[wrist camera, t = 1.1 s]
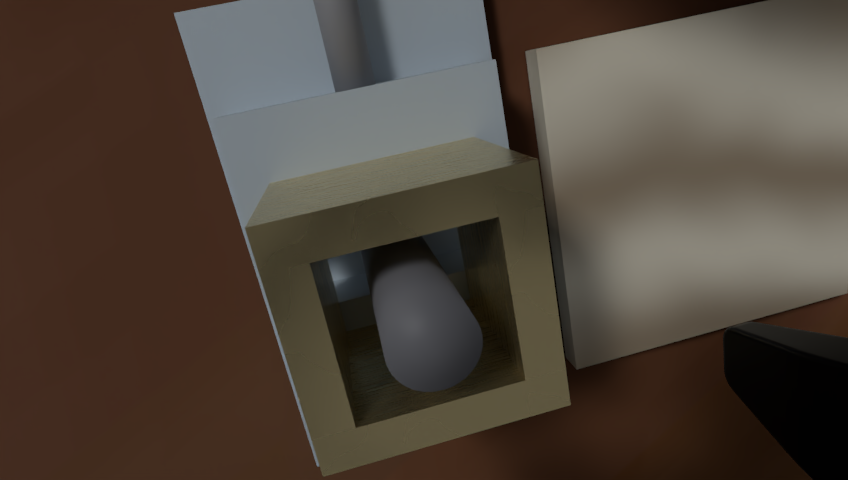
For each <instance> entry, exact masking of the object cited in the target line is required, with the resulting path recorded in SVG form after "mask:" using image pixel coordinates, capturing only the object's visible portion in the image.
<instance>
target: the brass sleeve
mask: <svg viewBox="0 0 848 480" xmlns="http://www.w3.org/2000/svg"><path fill="white" fill-rule="evenodd" d="M455 227H457V232H458V237H459V243H460V248H461V253H462V259H463V264H464V269H465V275H466V280H467V285H468V291H469V296H470V299H469V300H465V301H464V302H465V303H466V305H467V306H468V308H469V309H470V311H471V312H472V314H473V315H474V317H475V318H476V320H477V322H478V323H479V326H480V328H481V332H482V337H483V347H482V352H481V356H480V358H479V361H478V363H477V365H476V366H475V368H474V369H473V370H472V372H471V373H470V374H469V375H468V376H467V377H466V378H465V379H464V380H462V381H461V382H460V383H458V384H456V385H455V386H452V387H450V388H448V389H445V390H441V391H436V392H422V391H416V390H413V389H410V388H408V387H406V386H404V385H402V384H401V383H400V382H398V381H397V380H396V379H395V378H394V377H393V376H392V374H391V373H390V371H389V369H388V367H387V365H386V362H385V358H384V354H383V349H382V345H381V340H380V336H379V331H378V327H377V324H373V325H369V326H365V327H362V328H358V329H354V330H350V331H347V330H346V326H345V323H344V319H343V315H342V311H341V308H340V304H339V300H338V297H337V293H336V289H335V286H334V282H333V278H332V274H331V271H330V267H329V263H328V260H327V259H328V258H332V257H337V256H341V255H345V254H349V253H353V252H357V251H361V250H365V249H369V248H373V247H377V246H381V245H386V244H390V243H394V242H398V241H402V240H406V239H410V238H414V237H418V236H422V235H426V234H430V233H434V232H439V231H443V230H447V229H451V228H455ZM245 230H246V234H247V237H248V240H249V243H250V246H251V249H252V253H253V256H254V259H255V262H256V265H257V269H258V272H259V275H260V278H261V281H262V284H263V288H264V291H265V294H266V297H267V300H268V304H269V307H270V310H271V313H272V316H273V319H274V323H275V326H276V329H277V332H278V335H279V338H280V342H281V345H282V348H283V351H284V354H285V358H286V361H287V364H288V367H289V370H290V373H291V377H292V380H293V383H294V386H295V389H296V393H297V396H298V399H299V402H300V405H301V408H302V412H303V415H304V418H305V421H306V424H307V427H308V431H309V434H310V437H311V440H312V443H313V447H314V450H315V453H316V456H317V459H318V462H319V466H320V469H321V472H322V475H323V477H324V476H328V475H331V474H335V473H338V472H342V471H345V470H348V469H352V468H355V467H359V466H362V465H366V464H369V463H373V462H376V461H379V460H383V459H386V458H390V457H393V456H397V455H400V454H404V453H407V452H410V451H414V450H417V449H421V448H424V447H428V446H431V445H435V444H438V443H441V442H445V441H448V440H452V439H455V438H459V437H462V436H466V435H469V434H473V433H476V432H479V431H483V430H486V429H490V428H493V427H497V426H500V425H504V424H507V423H510V422H514V421H517V420H521V419H524V418H528V417H531V416H535V415H538V414H541V413H545V412H548V411H552V410H555V409H559V408H562V407H566V406H569V405H571V403H570V395H569V388H568V380H567V373H566V365H565V358H564V351H563V343H562V336H561V328H560V321H559V313H558V306H557V298H556V291H555V283H554V276H553V268H552V261H551V253H550V246H549V238H548V231H547V223H546V216H545V209H544V201H543V194H542V186H541V179H540V171H539V164H538V159H536V158H533V157H530V156H527V155H524V154H522V153H519V152H516V151H513V150H510V149H507V148H504V147H502V146H499V145H496V144H493V143H490V142H487V141H484V140H482V139H479V138H476V137H471V138H466V139H462V140H458V141H453V142H449V143H444V144H440V145H436V146H431V147H427V148H422V149H418V150H414V151H409V152H405V153H400V154H396V155H392V156H387V157H383V158H378V159H374V160H369V161H365V162H361V163H356V164H352V165H347V166H343V167H339V168H334V169H330V170H325V171H321V172H317V173H312V174H308V175H303V176H299V177H295V178H290V179H286V180H281V181H277V182H272V183H269V185H268V187H267V188H266V190H265V192H264V194H263V196H262V198H261V199H260V201H259V203H258V205H257V207H256V208H255V210H254V212H253V214H252V216H251V218H250V219H249V221H248V223H247V225H246V227H245Z"/></svg>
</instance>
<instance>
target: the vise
mask: <svg viewBox="0 0 848 480" xmlns="http://www.w3.org/2000/svg"><path fill="white" fill-rule="evenodd" d="M174 15H175V19H176V22H177V25H178V28H179V31H180V34H181V38H182V41H183V44H184V47H185V50H186V53H187V57H188V60H189V63H190V66H191V69H192V72H193V75H194V79H195V82H196V85H197V88H198V91H199V94H200V98H201V101H202V104H203V107H204V110H205V113H206V117H207V120H208V123H209V126H210V129H211V132H212V136H213V139H214V142H215V145H216V148H217V151H218V155H219V158H220V161H221V164H222V167H223V170H224V173H225V177H226V180H227V183H228V186H229V189H230V192H231V196H232V199H233V202H234V205H235V208H236V211H237V215H238V218H239V221H240V224H241V227H242V230H243V234H244V237H245V240H246V243H247V246H248V249H249V253H250V256H251V259H252V262H253V265H254V268H255V271H256V275H257V278H258V281H259V284H260V287H261V290H262V294H263V297H264V300H265V303H266V306H267V309H268V313H269V316H270V319H271V322H272V325H273V328H274V332H275V335H276V338H277V341H278V344H279V347H280V350H281V354H282V357H283V360H284V363H285V366H286V369H287V373H288V376H289V379H290V382H291V385H292V388H293V392H294V395H295V398H296V401H297V404H298V407H299V411H300V414H301V417H302V420H303V423H304V426H305V430H306V433H307V436H308V439H309V442H310V445H311V448H312V452H313V455H314V458H315V461H316V464H317V467H319V462H318V459H317V456H316V453H315V450H314V447H313V443H312V440H311V437H310V434H309V431H308V427H307V424H306V421H305V418H304V415H303V412H302V408H301V405H300V402H299V399H298V396H297V393H296V389H295V386H294V383H293V380H292V377H291V373H290V370H289V367H288V364H287V361H286V358H285V354H284V351H283V348H282V345H281V342H280V338H279V335H278V332H277V329H276V326H275V323H274V319H273V316H272V313H271V310H270V307H269V304H268V300H267V297H266V294H265V291H264V288H263V284H262V281H261V278H260V275H259V272H258V269H257V265H256V262H255V259H254V256H253V253H252V249H251V246H250V243H249V240H248V237H247V234H246V230H245V227H246V225H247V223H248V221H249V219H250V218H251V216H252V214H253V212H254V210H255V208H256V207H257V205H258V203H259V201H260V199H261V198H262V196H263V194H264V192H265V190H266V188H267V187H268V185H269V183H272V182H277V181H281V180H286V179H290V178H295V177H299V176H303V175H308V174H312V173H317V172H321V171H325V170H330V169H334V168H339V167H343V166H347V165H352V164H356V163H361V162H365V161H369V160H374V159H378V158H383V157H387V156H392V155H396V154H400V153H405V152H409V151H414V150H418V149H422V148H427V147H431V146H436V145H440V144H444V143H449V142H453V141H458V140H462V139H466V138H471V137H476V138H479V139H482V140H484V141H487V142H490V143H493V144H496V145H499V146H502V147H504V148H507V149H509V144H508V137H507V131H506V124H505V117H504V111H503V104H502V97H501V91H500V84H499V77H498V70H497V64H496V59H494V60H492V56H491V50H490V43H489V37H488V30H487V23H486V17H485V10H484V4H483V0H241V1H236V2H230V3H225V4H220V5H214V6H209V7H204V8H198V9H193V10H188V11H183V12H177V13H174ZM327 260H328V263H329V267H330V271H331V274H332V278H333V282H334V286H335V289H336V293H337V297H338V300H339V304H340V308H341V311H342V315H343V319H344V323H345V326H346V330H347V331H350V330H354V329H358V328H362V327H365V326H369V325H373V324H377V327H378V331H379V336H380V340H381V345H382V349H383V354H384V358H385V362H386V365H387V367H388V369H389V371H390V373H391V374H392V376H393V377H394V378H395V379H396V380H397V381H398V382H400V383H401V384H402V385H404V386H406V387H408V388H410V389H413V390H416V391H422V392H436V391H441V390H445V389H448V388H450V387H452V386H455V385H456V384H458V383H460V382H461V381H462V380H464V379H465V378H466V377H467V376H468V375H469V374H470V373H471V372H472V370H473V369H474V368H475V366H476V365H477V363H478V361H479V358H480V356H481V352H482V347H483V337H482V332H481V328H480V326H479V323H478V322H477V320H476V318H475V317H474V315H473V314H472V312H471V311H470V309H469V308H468V306H467V305H466V303H465V302H464V301H465V300H469V299H470V296H469V291H468V285H467V280H466V275H465V269H464V264H463V259H462V253H461V248H460V243H459V237H458V232H457V227H455V228H451V229H447V230H443V231H439V232H434V233H430V234H426V235H422V236H418V237H414V238H410V239H406V240H402V241H398V242H394V243H390V244H386V245H381V246H377V247H373V248H369V249H365V250H361V251H357V252H353V253H349V254H345V255H341V256H337V257H332V258H328V259H327Z"/></svg>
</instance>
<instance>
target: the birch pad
mask: <svg viewBox="0 0 848 480" xmlns="http://www.w3.org/2000/svg"><path fill="white" fill-rule="evenodd" d="M525 53H526V61H527V68H528V76H529V84H530V91H531V99H532V106H533V114H534V121H535V129H536V136H537V144H538V151H539V159H540V166H541V174H542V181H543V189H544V196H545V204H546V212H547V219H548V227H549V234H550V242H551V249H552V257H553V264H554V272H555V279H556V287H557V294H558V302H559V309H560V317H561V324H562V332H563V339H564V347H565V355H566V358H567V359H568V360H569V361H570V363H571V364H572V365H573V366H574V367H575V368H576V369H581V368H584V367H588V366H591V365H595V364H599V363H602V362H606V361H609V360H613V359H616V358H620V357H623V356H627V355H630V354H634V353H637V352H641V351H645V350H648V349H652V348H655V347H659V346H662V345H666V344H669V343H673V342H676V341H680V340H683V339H687V338H690V337H694V336H698V335H701V334H705V333H708V332H712V331H715V330H719V329H722V328H726V327H729V326H733V325H736V324H740V323H744V322H747V321H751V320H754V319H758V318H761V317H765V316H768V315H772V314H775V313H779V312H782V311H786V310H790V309H793V308H797V307H800V306H804V305H807V304H811V303H814V302H818V301H821V300H825V299H828V298H832V297H835V296H839V295H843V294H846V293H847V291H848V0H766V1H761V2H757V3H752V4H747V5H742V6H738V7H733V8H728V9H723V10H719V11H714V12H709V13H704V14H700V15H695V16H690V17H685V18H681V19H676V20H671V21H666V22H662V23H657V24H652V25H647V26H643V27H638V28H633V29H628V30H624V31H619V32H614V33H609V34H605V35H600V36H595V37H591V38H586V39H581V40H576V41H572V42H567V43H562V44H557V45H553V46H548V47H543V48H538V49H534V50H529V51H525Z"/></svg>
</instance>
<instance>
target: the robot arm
mask: <svg viewBox="0 0 848 480" xmlns="http://www.w3.org/2000/svg"><path fill="white" fill-rule="evenodd" d="M723 348H724V372H725V377H726V380H727V382H728V384H729V385H730V387H731V388H732V390H733V391H734V392H735V393H736V394H737V395H738V397H739V398H740V399H741V400H742V401H743V402H744V403H745V405H746V406H747V407H748V408H749V409H750V410H751V412H752V413H753V414H754V415H755V416H756V417H757V418H758V420H759V421H760V422H761V423H762V424H763V425H764V427H765V428H766V429H767V430H768V431H769V432H770V433H771V435H772V436H773V437H774V438H775V439H776V440H777V442H778V443H779V444H780V445H781V446H782V447H783V449H784V450H785V451H786V452H787V453H788V454H789V455H790V456H791V457H792V458H793V460H794V461H795V462H796V463H797V464H798V465H799V466H800V467H801V468H802V469H803V470H804V471H805V472H806V473H807V474H808V475H809V476H810V477H811V478H812V479H813V480H848V338H846V337H840V336H834V335H828V334H822V333H816V332H810V331H804V330H798V329H792V328H786V327H781V326H775V325H769V324H763V323H757V322H746V323H743V324H739V325H736V326H732V327H729V328H728V329H726V330H725V332H724V335H723Z"/></svg>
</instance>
